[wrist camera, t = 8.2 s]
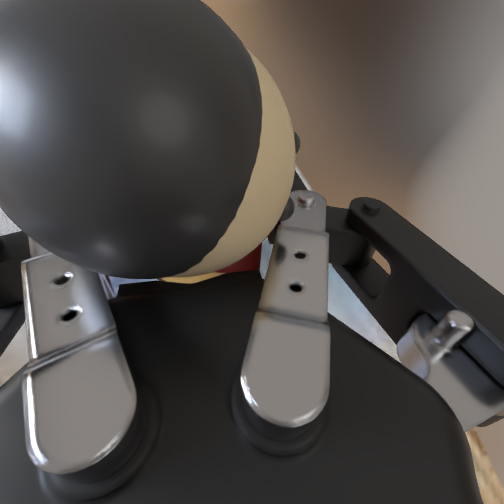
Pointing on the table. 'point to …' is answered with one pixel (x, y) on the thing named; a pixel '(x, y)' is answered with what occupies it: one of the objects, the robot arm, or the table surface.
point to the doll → (140, 137)
